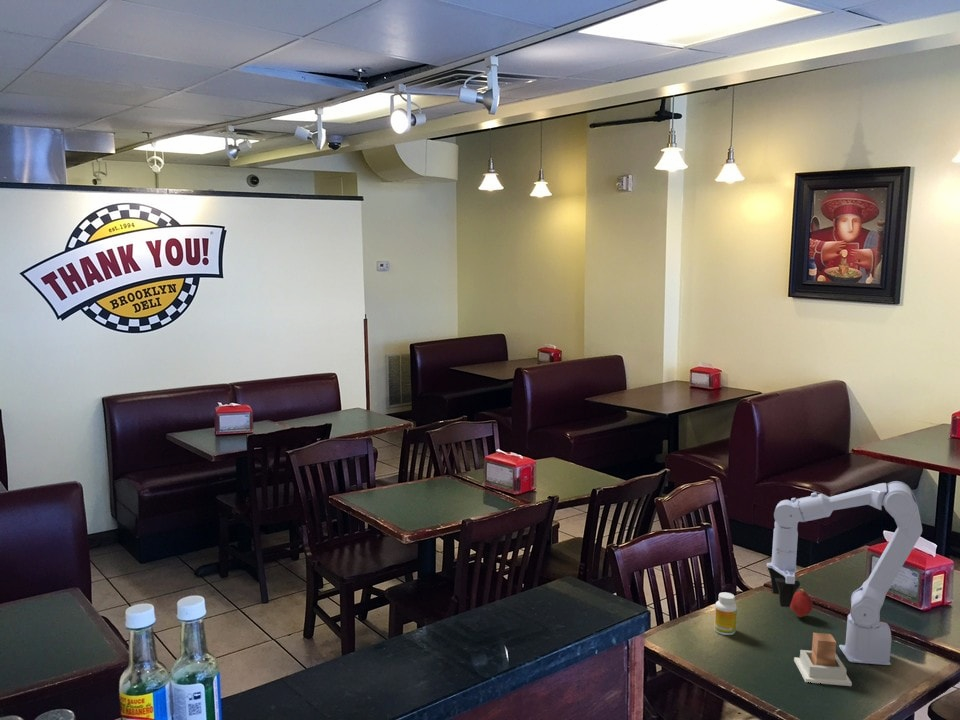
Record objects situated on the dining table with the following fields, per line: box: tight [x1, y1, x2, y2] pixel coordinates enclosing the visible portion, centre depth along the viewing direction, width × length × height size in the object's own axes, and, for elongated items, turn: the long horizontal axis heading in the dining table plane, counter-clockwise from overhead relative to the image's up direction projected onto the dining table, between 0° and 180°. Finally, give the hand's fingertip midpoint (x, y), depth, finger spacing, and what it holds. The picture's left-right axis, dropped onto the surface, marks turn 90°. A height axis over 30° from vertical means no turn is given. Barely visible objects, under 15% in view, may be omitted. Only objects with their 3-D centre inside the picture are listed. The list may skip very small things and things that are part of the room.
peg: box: [811, 632, 837, 667], centre depth 180 cm, size 4×4×8 cm
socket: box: [793, 649, 853, 687], centre depth 181 cm, size 10×10×3 cm
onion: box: [789, 588, 814, 618], centre depth 210 cm, size 6×6×8 cm
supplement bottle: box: [713, 591, 738, 636], centre depth 201 cm, size 5×5×10 cm
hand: (781, 599), depth 196 cm, fingers open, 7 cm apart
